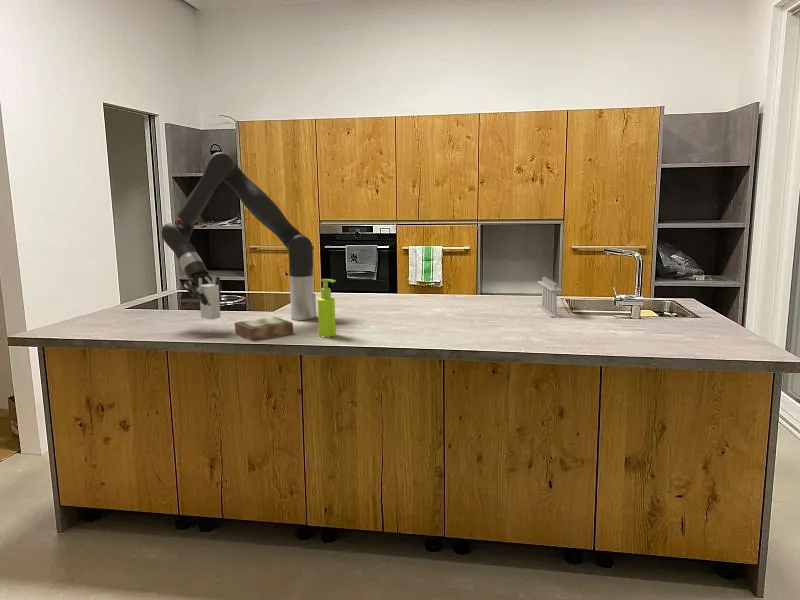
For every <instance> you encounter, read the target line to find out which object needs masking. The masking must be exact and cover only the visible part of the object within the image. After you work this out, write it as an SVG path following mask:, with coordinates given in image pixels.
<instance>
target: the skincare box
mask: <svg viewBox="0 0 800 600" xmlns="http://www.w3.org/2000/svg"><path fill="white" fill-rule="evenodd" d="M201 289H202V292H203V293H202V294H204V295H205V297H206V299H207V301H208V303H207V305H204V304H202V303H201V301H200V300H199V304H200V305H199V307H200V317H201V319H206V320H216V319H219V318H221V306H220V305H221V302H220V301H219V294H220V293H219V285H215V284H214V283H213V284H203V285H201Z"/></svg>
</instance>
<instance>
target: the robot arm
mask: <svg viewBox="0 0 800 600" xmlns="http://www.w3.org/2000/svg"><path fill="white" fill-rule="evenodd" d="M222 182H224V183H225V184H226V185H227V186H228V187H229V188H231V189H232V191H233V192H234V194H236V196H237V197H238V199H239V200H240V202H241V203H242V204H243V206H245V208H246V209H247V211H249V212H250V213H251V214H252V215H253V216H254V218H256V220H258V222H260V223H261V224H262V225H263V226H264V227H265V228H267V229H268V230H269V231H271V232H272V233H273V234H274V235H275V236H276V237H277V238H278V239H279V240H280V242H281V243H282V244H283V245H284V246H285V248H286V250H288V263H289V264H288V265H289V266H288V268H289V269H288V270H289V271H288V274H289V276H288V277H289V293H290V294H289V296H290V318H291V319H292V320H296V321H305V320H307V321H308V320H312V319H315V318H317V296H316V294H315V292H314V251H313V243H312V241H311V240H310V238H309V237H307V236H306V235H304V234H303V233H302V232H301V231H300V230H298V229H297V228H296V227H295V226H293V225H292V224H291V222H290V221H289V220H288V219H287V217H286V216H285V215H284V213H283V212H282V210H281V209H280V208H279V207H278V205H277V204H276V203H275V202H274V201H273V199H271V197H269V196H268V194H267V193H266V192H265V191H263V190H262V189H261V187H259V186H258V185H257V184H256V183H254V181H252V180H251V179H249V177H248V176H246V174H245V172H243V171H242V169H241V168H240V167H239V166H238V164H237V163H236V162H235V160H234V158H233V157H232V156H231V155H230V154H229V153H226V152H223V151H218V152H215V153H213V154H211V156H210V157H209V159H208V163H207V164H206V167H205V170H204V172H203V174H202V176H201V178H200V180H199V181H198V183H197V184H196V185H195V188H194V189H193V190H192V192H191V193H190V194H189V196H188V197H187V198H186V200H185V201H184V203H183V205H182V206H181V208H180V209H179V211H178V212H177V217H178V218H179V219H180V224H179V225H178V224H176V223H173V222H167V223H165V224H164V225H163V226H162V228H161V231H160V232H161V237H162V239H163V241H164V242H165V244H166V245H167V246H168V247H169V248H170V249H171V250H172V252H173V253H174V254H175V256H176V258H177V260H178V263H179V264H180V266H181V269H182V271H183V272H184V275H185V276H186V278H187V280H185V281H184V284H183V288H184V289H185V290H186V292H187V293H189V295H190V296H191V297H192V298H198V300H199V302H200V301H201V303H202V304H204V305H207V303H208V301H207V299H206V297H205V295H204V294H202V293H203V292H202V289H201V285H203V284H215V285H219V301H220V303H221V302H222V299H223V298H222V296H221V294H220V293H221V291H222V289H223V286H222V282H221V278H220V276H216V277H215V278H214V277H212V276H211V275H210V274H209V271H208V269H207V267H206V266H205V265H206V264H204V262H203V260H202V258H201V256H200V255H199V254H198V252H197V251H196V249H195V247H194V245H193V244H192V243H191V242H190V241H189V240H190V239H191V236H192V234H193V231H194V229H195V228H194V227H195V224H196V222H197V220H198V219H199V218H200V216H201V214H202V213H203V211H204V210H205V208H206V207H207V205H208V202H209V201H210V199H211V197H212V195H213V194H214V192H215V190H216V189H217V188H218V186H219V185H220V184H221V183H222Z"/></svg>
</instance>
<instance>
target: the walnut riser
mask: <svg viewBox="0 0 800 600" xmlns="http://www.w3.org/2000/svg"><path fill="white" fill-rule="evenodd" d="M234 332H235V333H236V335H238V336H240V337H242V336H243V337H242V338H244V337H245V338H244V339H247V340H249V341H256V339H257V340H262V338H264V339H268V338H267V337H270V338H273V336H276V337H280V336H279V335H282V336H286V335H285V334H288V335H292V334H291V333H293V334H294V322H292V321H289V320H286V319H283V318H280V317H277V316H271V317H270V316H269V317H264V318H257V319H249V320H244V321H236V322H234Z"/></svg>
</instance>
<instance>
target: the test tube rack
mask: <svg viewBox="0 0 800 600" xmlns="http://www.w3.org/2000/svg"><path fill="white" fill-rule="evenodd" d="M541 279H542V280H540V281H539V280H537V283H538V284H540V285H541V290H542V291H541V304H536V307H537V308H538V307H539V308H540V310H541V312H543V313H544V314H545V313H546V314H545V315H547V316H548V317H549V318H550V319H554V318H555V317H559V318H560V319H561V318H562V316H563V315H562V314H560V313H558V312H557V309H558V308H557V306H558V305H557V304H558V303H557V302H558V300H557V299H558V292H563V289H561V288H560V287H559V286H558V283H556V282H555V281H552V279H550V278H548V277H547V276H542V278H541ZM539 308H538V309H539ZM559 318H558V319H559ZM555 319H556V318H555Z"/></svg>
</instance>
